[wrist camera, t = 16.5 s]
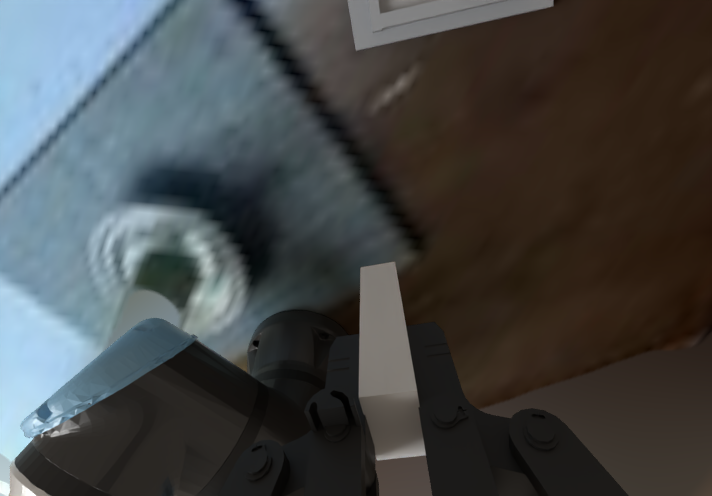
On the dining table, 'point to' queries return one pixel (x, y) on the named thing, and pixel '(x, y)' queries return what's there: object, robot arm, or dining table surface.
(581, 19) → the dining table surface
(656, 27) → the dining table surface
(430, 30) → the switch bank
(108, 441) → the robot arm
